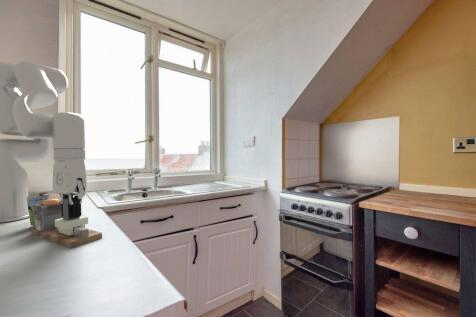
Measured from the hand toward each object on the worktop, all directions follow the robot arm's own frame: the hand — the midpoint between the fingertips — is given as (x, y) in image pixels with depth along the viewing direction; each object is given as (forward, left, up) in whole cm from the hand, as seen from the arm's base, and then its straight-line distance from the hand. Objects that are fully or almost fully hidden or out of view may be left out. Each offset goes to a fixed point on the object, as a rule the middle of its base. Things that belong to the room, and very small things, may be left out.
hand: (71, 216), depth 66 cm
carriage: (0, 0, -5) cm, 5 cm away
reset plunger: (-13, 0, +1) cm, 13 cm away
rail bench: (-4, 0, -7) cm, 7 cm away
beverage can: (-24, +1, -7) cm, 25 cm away
